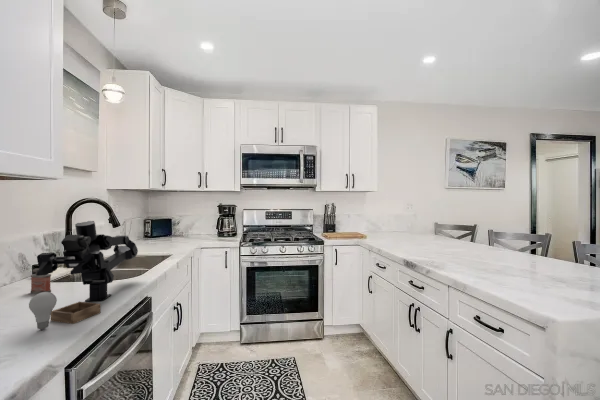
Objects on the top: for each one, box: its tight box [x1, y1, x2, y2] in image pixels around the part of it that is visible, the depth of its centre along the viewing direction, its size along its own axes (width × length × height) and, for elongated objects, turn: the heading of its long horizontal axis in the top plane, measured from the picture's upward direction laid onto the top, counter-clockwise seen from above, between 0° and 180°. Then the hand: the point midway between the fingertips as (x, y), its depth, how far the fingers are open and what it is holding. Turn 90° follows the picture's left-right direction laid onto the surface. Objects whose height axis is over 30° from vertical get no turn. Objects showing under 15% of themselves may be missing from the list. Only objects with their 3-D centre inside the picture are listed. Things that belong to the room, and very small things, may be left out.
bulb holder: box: [50, 301, 102, 325], centre depth 94 cm, size 9×9×3 cm
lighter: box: [30, 268, 52, 295], centre depth 119 cm, size 8×3×10 cm, turn 84°
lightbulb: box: [28, 292, 58, 331], centre depth 84 cm, size 6×6×11 cm
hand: (54, 273), depth 87 cm, fingers open, 9 cm apart
